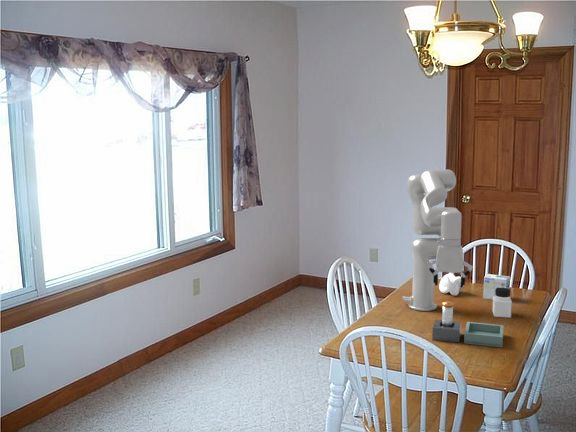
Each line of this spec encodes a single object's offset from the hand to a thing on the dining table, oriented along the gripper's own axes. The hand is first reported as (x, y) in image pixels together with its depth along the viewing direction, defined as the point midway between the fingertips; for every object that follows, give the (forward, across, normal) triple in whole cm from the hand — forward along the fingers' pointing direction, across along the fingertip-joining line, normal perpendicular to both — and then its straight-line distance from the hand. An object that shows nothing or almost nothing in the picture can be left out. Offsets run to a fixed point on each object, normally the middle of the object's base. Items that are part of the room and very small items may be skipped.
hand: (449, 285), depth 255 cm
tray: (+21, +14, +3) cm, 25 cm away
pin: (+21, 0, +1) cm, 21 cm away
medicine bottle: (+21, +20, +36) cm, 46 cm away
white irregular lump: (+20, -3, +62) cm, 65 cm away
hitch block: (+21, 0, +1) cm, 21 cm away
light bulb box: (+20, +17, +60) cm, 65 cm away
